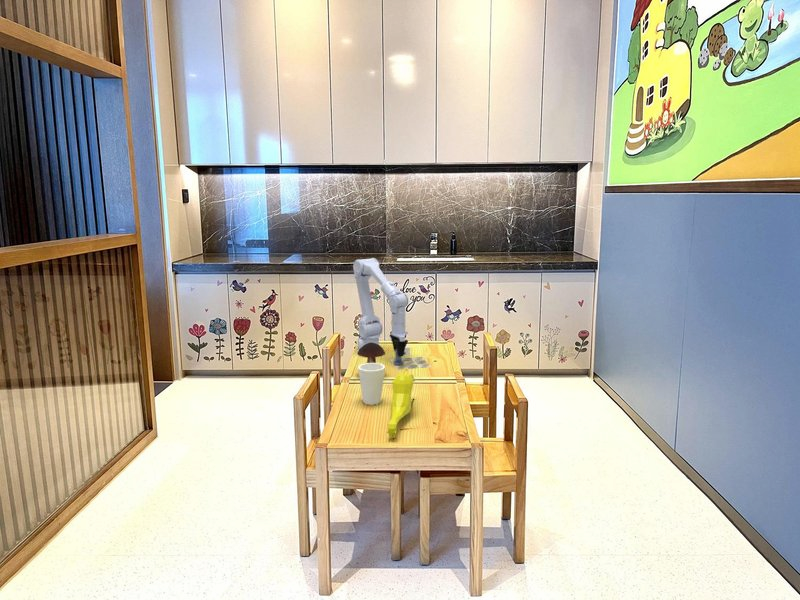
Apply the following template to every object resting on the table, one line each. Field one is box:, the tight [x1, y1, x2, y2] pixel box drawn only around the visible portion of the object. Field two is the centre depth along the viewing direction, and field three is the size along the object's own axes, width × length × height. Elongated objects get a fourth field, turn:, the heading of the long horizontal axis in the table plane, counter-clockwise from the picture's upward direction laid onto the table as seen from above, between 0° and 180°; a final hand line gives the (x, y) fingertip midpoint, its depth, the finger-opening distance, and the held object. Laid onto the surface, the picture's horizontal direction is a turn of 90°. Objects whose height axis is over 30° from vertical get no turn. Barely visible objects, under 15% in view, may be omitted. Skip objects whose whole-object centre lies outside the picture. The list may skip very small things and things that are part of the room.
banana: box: [386, 367, 416, 439], centre depth 188 cm, size 7×20×35 cm
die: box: [402, 344, 411, 357], centre depth 255 cm, size 5×5×5 cm
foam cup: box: [358, 362, 386, 406], centre depth 202 cm, size 10×9×13 cm
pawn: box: [393, 349, 404, 366], centre depth 241 cm, size 4×4×7 cm
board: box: [389, 356, 432, 370], centre depth 243 cm, size 15×15×1 cm
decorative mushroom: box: [356, 342, 386, 363], centre depth 225 cm, size 11×11×15 cm
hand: (398, 353), depth 241 cm, fingers open, 7 cm apart
